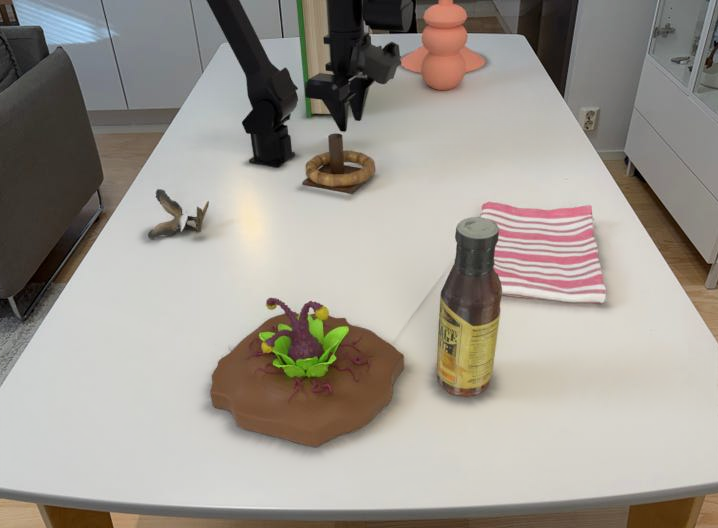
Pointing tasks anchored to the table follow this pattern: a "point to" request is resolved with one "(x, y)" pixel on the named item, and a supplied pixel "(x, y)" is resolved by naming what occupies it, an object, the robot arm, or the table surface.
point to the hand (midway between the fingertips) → (350, 125)
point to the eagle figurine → (176, 217)
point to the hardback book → (313, 46)
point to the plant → (306, 376)
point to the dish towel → (547, 253)
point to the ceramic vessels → (443, 48)
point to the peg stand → (336, 166)
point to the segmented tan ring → (340, 179)
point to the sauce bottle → (470, 311)
